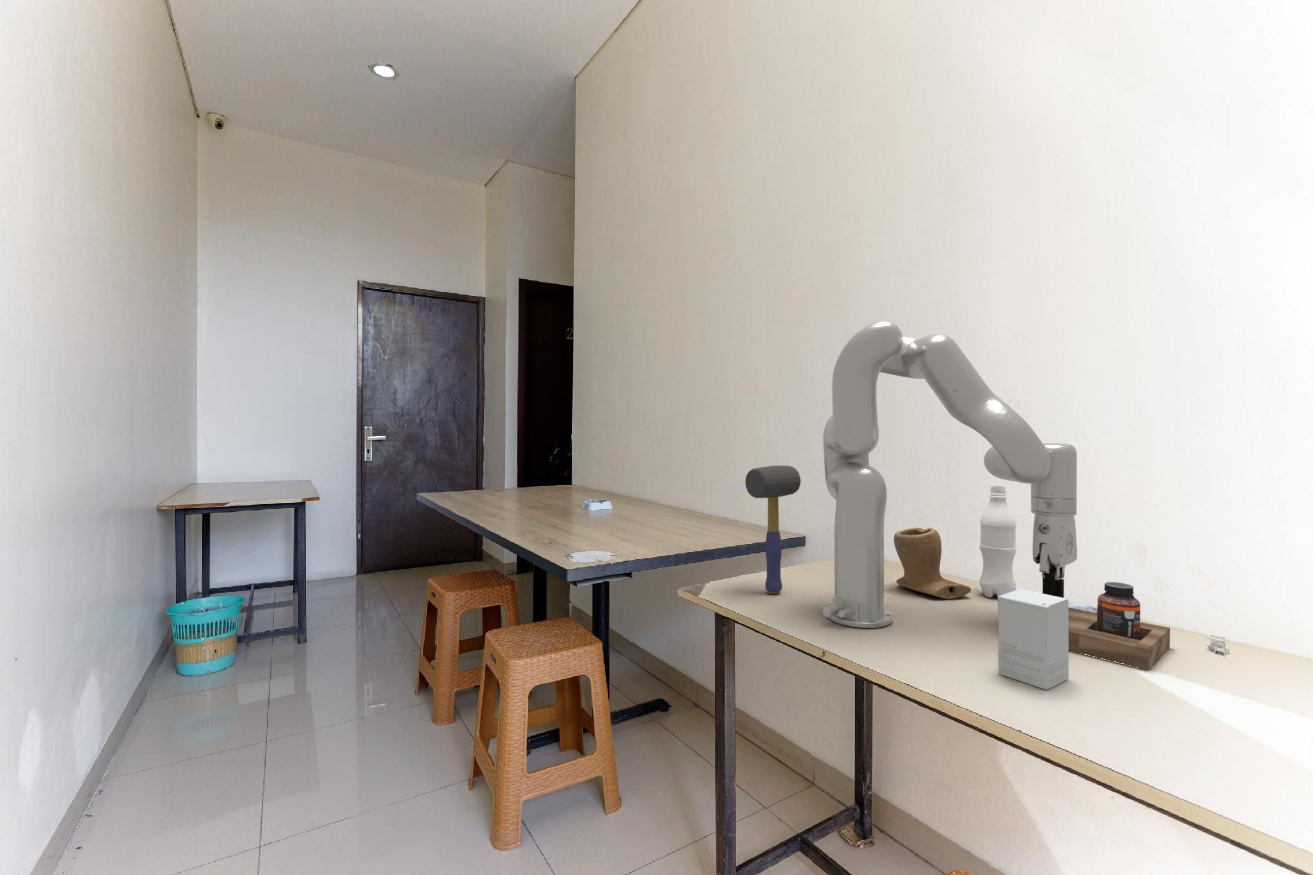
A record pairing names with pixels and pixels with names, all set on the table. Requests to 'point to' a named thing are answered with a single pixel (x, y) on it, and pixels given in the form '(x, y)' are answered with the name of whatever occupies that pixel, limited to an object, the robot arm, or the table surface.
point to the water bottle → (997, 545)
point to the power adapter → (1217, 644)
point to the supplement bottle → (1118, 611)
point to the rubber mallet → (773, 512)
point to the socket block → (1116, 641)
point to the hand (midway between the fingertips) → (1053, 598)
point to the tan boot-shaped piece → (924, 564)
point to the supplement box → (1033, 638)
